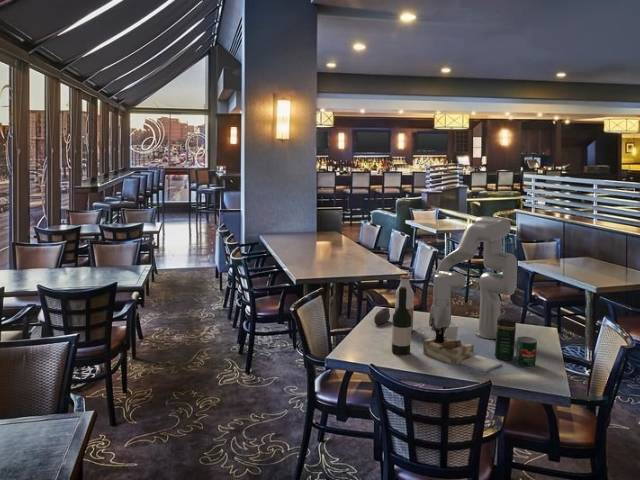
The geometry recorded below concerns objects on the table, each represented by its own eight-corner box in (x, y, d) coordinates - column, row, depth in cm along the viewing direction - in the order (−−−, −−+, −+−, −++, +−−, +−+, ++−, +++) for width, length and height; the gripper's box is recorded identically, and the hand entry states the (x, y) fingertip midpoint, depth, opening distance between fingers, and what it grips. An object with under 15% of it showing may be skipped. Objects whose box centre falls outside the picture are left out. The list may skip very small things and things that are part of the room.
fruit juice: (415, 332, 270) (417, 277, 266) (397, 332, 268) (399, 278, 264) (409, 326, 279) (411, 274, 275) (391, 327, 277) (393, 274, 273)
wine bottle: (411, 350, 243) (413, 285, 239) (408, 356, 235) (410, 289, 231) (393, 348, 246) (395, 284, 241) (389, 354, 238) (391, 288, 234)
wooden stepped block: (441, 347, 247) (442, 334, 246) (472, 358, 234) (473, 344, 233) (423, 353, 239) (423, 340, 238) (454, 364, 225) (455, 350, 225)
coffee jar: (513, 361, 230) (515, 320, 227) (494, 359, 233) (496, 317, 230) (514, 354, 239) (516, 314, 236) (495, 352, 242) (498, 312, 239)
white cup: (457, 348, 246) (458, 327, 244) (439, 347, 247) (440, 326, 246) (456, 343, 254) (457, 322, 252) (439, 341, 255) (440, 321, 254)
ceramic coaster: (477, 357, 235) (477, 355, 235) (501, 365, 226) (501, 363, 225) (460, 363, 227) (460, 361, 227) (485, 371, 218) (485, 369, 218)
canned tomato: (525, 368, 222) (527, 343, 220) (511, 362, 229) (513, 337, 227) (539, 366, 225) (541, 341, 223) (525, 360, 232) (527, 335, 231)
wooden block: (444, 350, 240) (442, 341, 241) (462, 349, 233) (460, 340, 233) (437, 352, 237) (435, 343, 238) (455, 351, 230) (453, 342, 230)
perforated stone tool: (379, 327, 278) (379, 314, 277) (370, 325, 281) (370, 312, 280) (392, 320, 290) (392, 308, 289) (383, 318, 293) (384, 306, 292)
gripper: (445, 297, 244) (443, 336, 246) (423, 302, 235) (421, 342, 237) (459, 301, 238) (457, 340, 240) (436, 306, 229) (435, 347, 231)
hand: (439, 341), depth 239 cm, fingers closed
